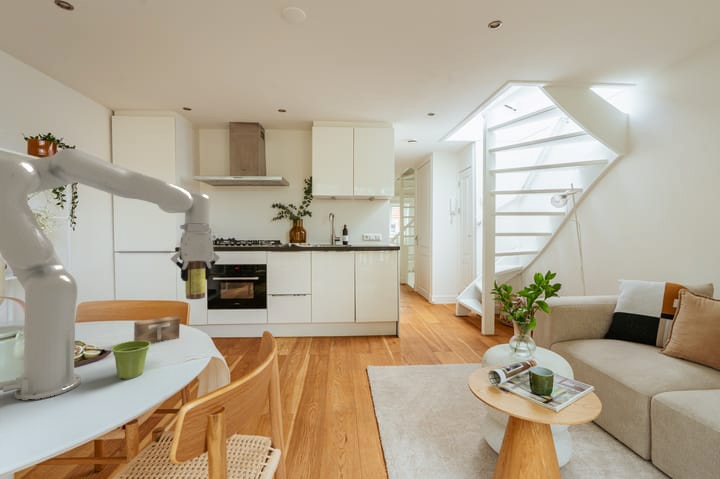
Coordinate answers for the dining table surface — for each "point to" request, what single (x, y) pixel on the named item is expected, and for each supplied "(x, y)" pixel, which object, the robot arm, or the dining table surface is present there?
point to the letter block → (157, 329)
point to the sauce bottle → (195, 280)
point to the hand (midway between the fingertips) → (195, 279)
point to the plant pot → (130, 358)
